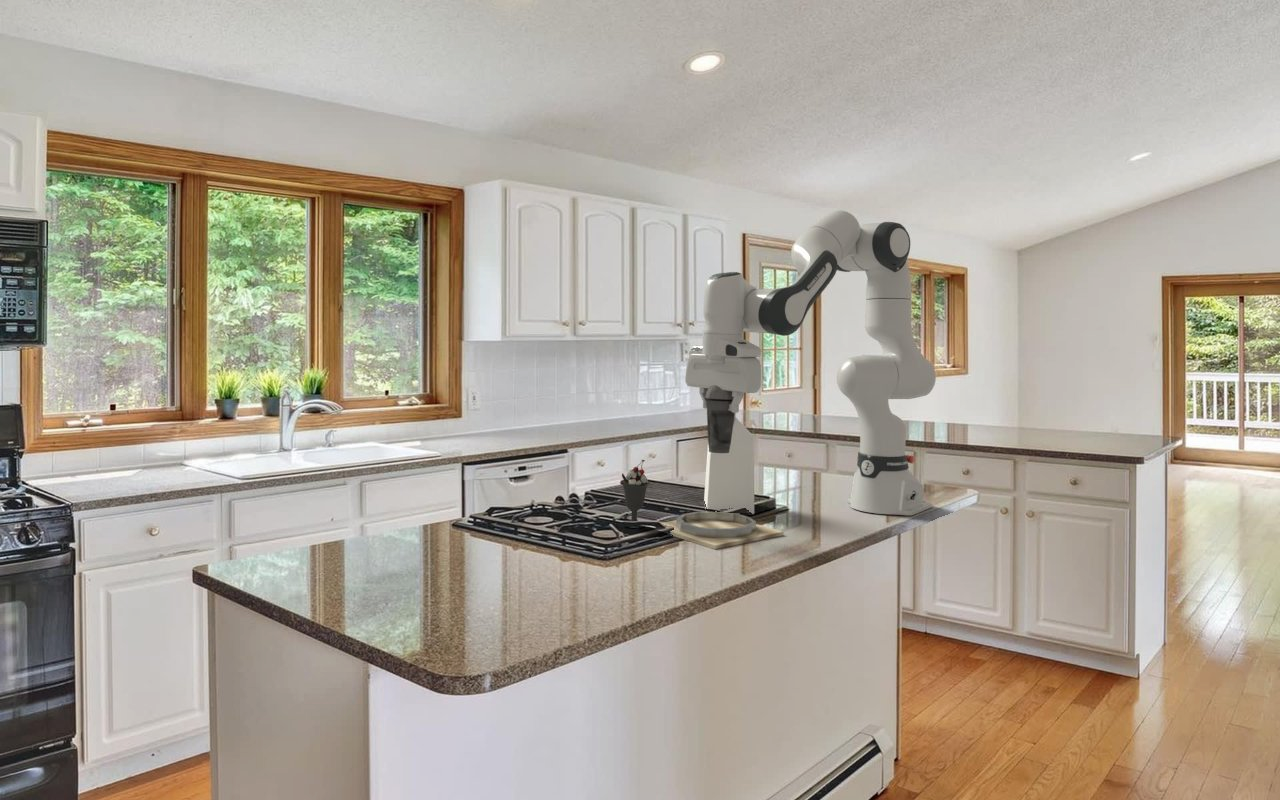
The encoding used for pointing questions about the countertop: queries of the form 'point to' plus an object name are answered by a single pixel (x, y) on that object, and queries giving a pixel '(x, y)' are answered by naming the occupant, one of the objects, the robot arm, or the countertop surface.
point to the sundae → (634, 489)
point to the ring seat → (719, 529)
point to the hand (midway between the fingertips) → (720, 410)
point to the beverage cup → (719, 419)
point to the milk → (731, 473)
